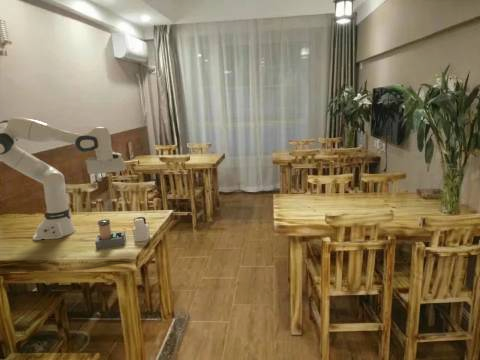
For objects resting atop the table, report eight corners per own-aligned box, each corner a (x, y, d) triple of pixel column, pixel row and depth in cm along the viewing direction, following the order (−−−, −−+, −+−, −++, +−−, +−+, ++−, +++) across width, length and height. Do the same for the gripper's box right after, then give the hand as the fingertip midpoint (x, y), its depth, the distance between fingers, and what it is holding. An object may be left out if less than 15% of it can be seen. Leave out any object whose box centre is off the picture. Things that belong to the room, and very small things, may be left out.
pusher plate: (113, 243, 184) (112, 236, 183) (115, 238, 191) (114, 232, 190) (118, 242, 185) (117, 236, 184) (119, 237, 191) (118, 231, 190)
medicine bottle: (137, 237, 194) (134, 216, 191) (150, 235, 195) (147, 215, 192) (134, 242, 187) (131, 220, 184) (147, 240, 188) (144, 219, 185)
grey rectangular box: (96, 249, 181) (94, 240, 180) (99, 242, 190) (97, 233, 189) (124, 244, 184) (123, 235, 183) (125, 238, 194) (124, 229, 192)
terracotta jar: (100, 245, 183) (96, 223, 180) (102, 240, 189) (98, 220, 186) (112, 243, 184) (108, 222, 181) (113, 239, 190) (110, 218, 187)
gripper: (84, 158, 189) (88, 183, 192) (123, 154, 194) (126, 179, 197) (86, 157, 195) (90, 181, 198) (124, 153, 200) (127, 176, 203)
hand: (108, 180), depth 198 cm, fingers open, 8 cm apart
